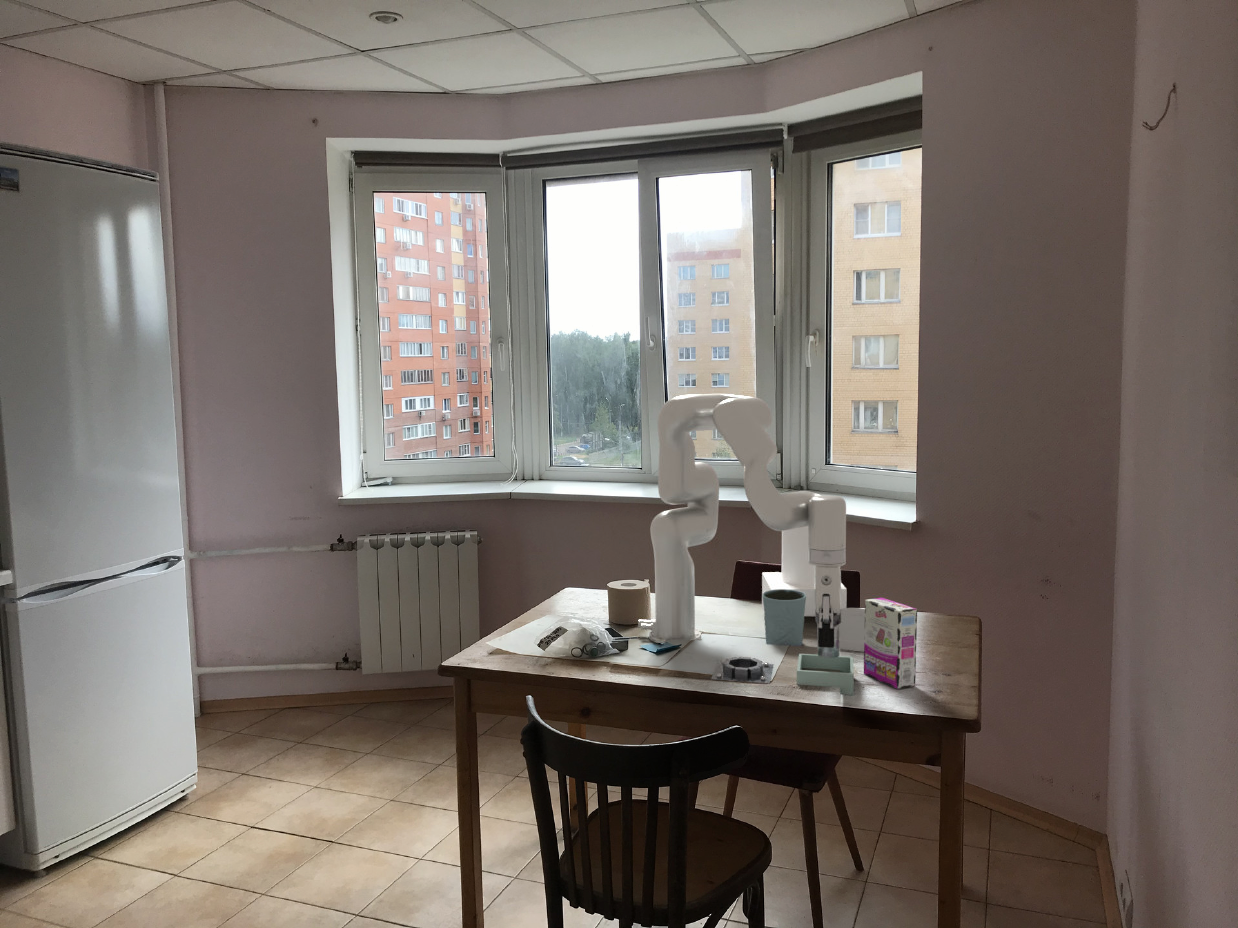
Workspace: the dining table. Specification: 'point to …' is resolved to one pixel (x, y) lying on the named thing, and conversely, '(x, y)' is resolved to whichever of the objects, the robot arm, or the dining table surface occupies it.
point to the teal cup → (784, 616)
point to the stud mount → (743, 670)
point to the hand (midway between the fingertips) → (826, 641)
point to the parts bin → (830, 679)
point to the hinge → (852, 629)
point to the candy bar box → (890, 642)
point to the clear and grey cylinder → (835, 650)
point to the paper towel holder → (796, 570)
